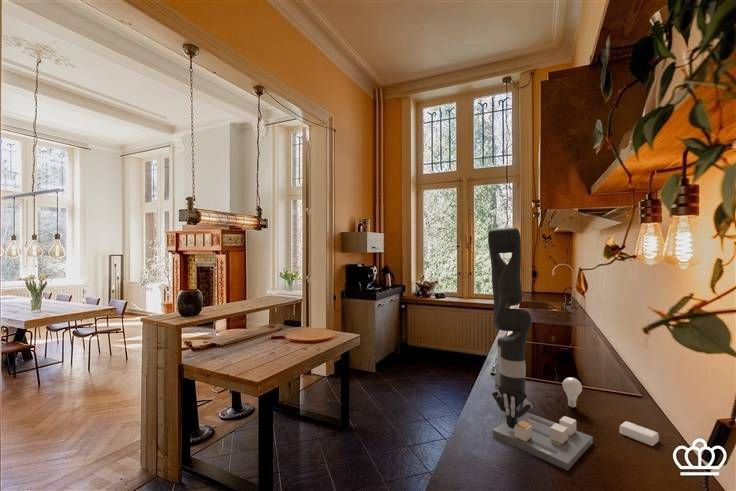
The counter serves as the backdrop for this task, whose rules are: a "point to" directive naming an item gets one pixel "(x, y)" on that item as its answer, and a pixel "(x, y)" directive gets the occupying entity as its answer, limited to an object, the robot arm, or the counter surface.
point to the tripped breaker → (523, 430)
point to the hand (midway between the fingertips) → (511, 427)
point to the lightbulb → (572, 390)
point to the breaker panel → (549, 439)
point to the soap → (639, 433)
